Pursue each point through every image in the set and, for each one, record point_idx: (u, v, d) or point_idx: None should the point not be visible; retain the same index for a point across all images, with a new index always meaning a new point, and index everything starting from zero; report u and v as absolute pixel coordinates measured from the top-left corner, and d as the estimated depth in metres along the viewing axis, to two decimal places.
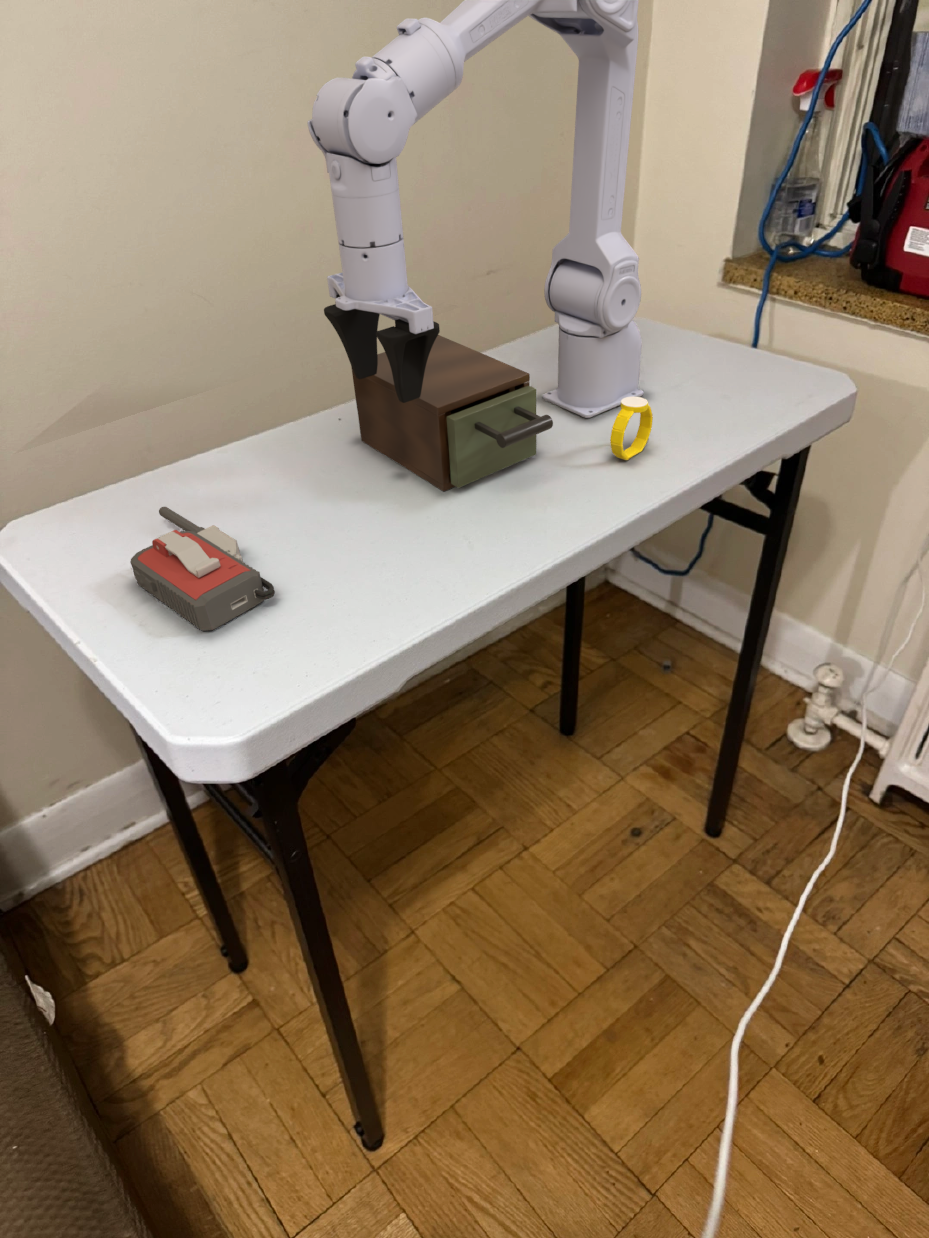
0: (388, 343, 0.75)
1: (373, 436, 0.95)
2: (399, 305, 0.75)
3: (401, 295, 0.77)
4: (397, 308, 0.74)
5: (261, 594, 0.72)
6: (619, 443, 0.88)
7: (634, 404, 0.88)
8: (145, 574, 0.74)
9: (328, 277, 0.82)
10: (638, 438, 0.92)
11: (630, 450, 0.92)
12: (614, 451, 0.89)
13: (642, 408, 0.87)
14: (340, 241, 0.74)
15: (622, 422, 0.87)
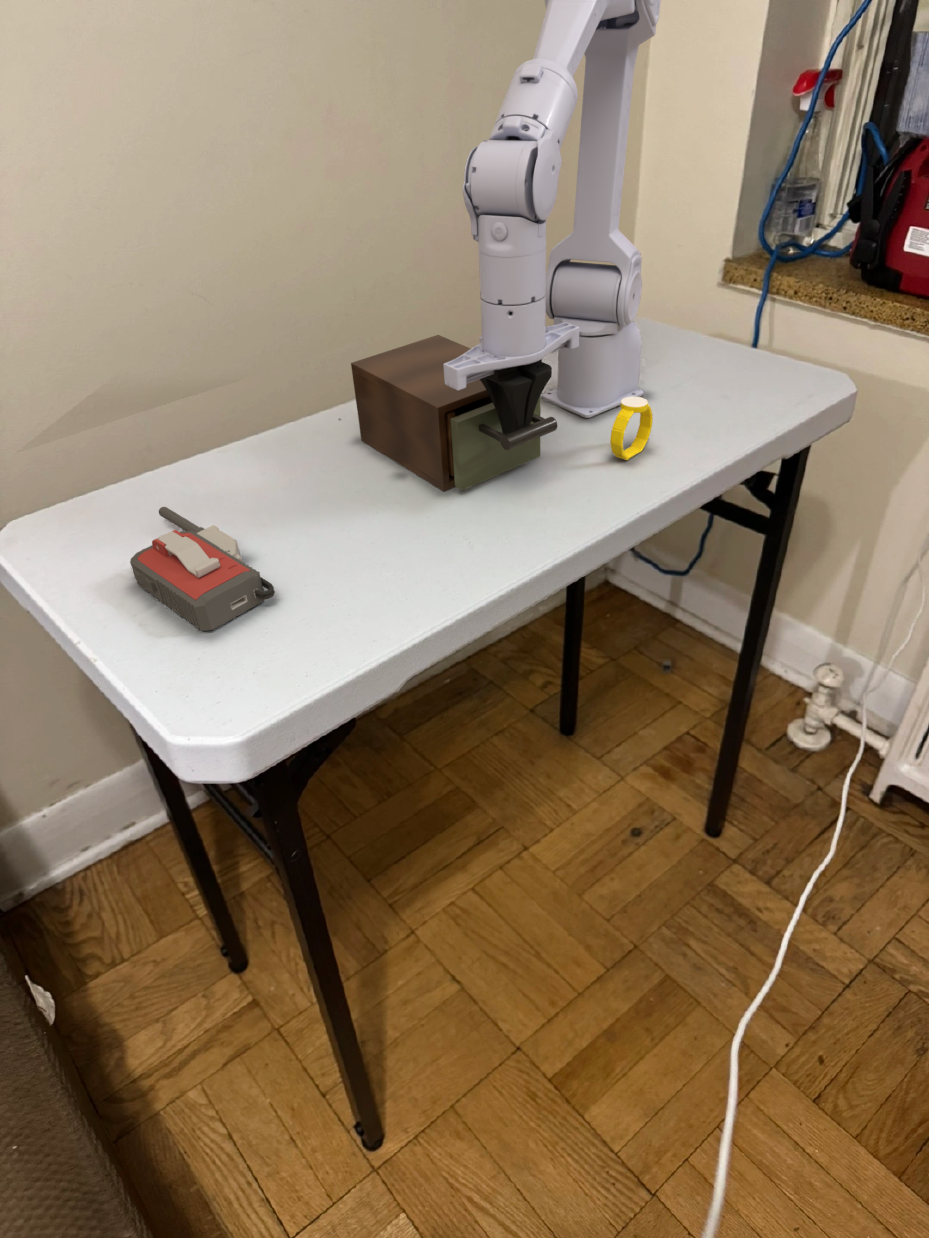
0: None
1: (373, 436, 0.95)
2: (468, 357, 0.76)
3: (495, 355, 0.76)
4: (459, 357, 0.77)
5: (261, 594, 0.72)
6: (619, 443, 0.88)
7: (634, 404, 0.88)
8: (145, 574, 0.74)
9: (563, 323, 0.82)
10: (638, 438, 0.92)
11: (630, 450, 0.92)
12: (614, 451, 0.89)
13: (642, 408, 0.87)
14: (495, 301, 0.73)
15: (622, 422, 0.87)
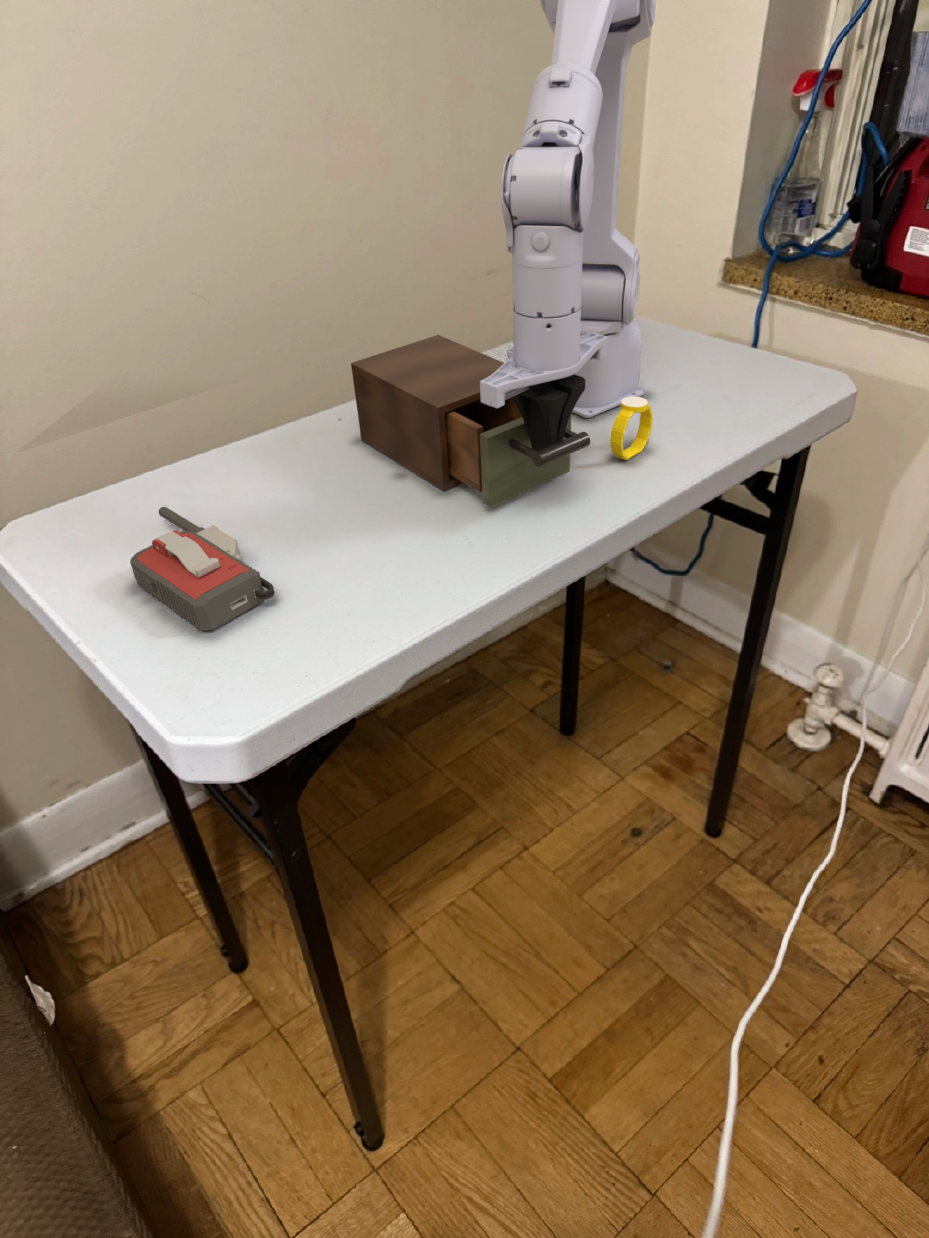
0: None
1: (373, 436, 0.95)
2: (503, 373, 0.73)
3: (531, 370, 0.73)
4: (493, 373, 0.73)
5: (261, 594, 0.72)
6: (619, 443, 0.88)
7: (634, 404, 0.88)
8: (145, 574, 0.74)
9: (589, 333, 0.80)
10: (638, 438, 0.92)
11: (630, 450, 0.92)
12: (614, 451, 0.89)
13: (642, 408, 0.87)
14: (534, 314, 0.70)
15: (622, 422, 0.87)
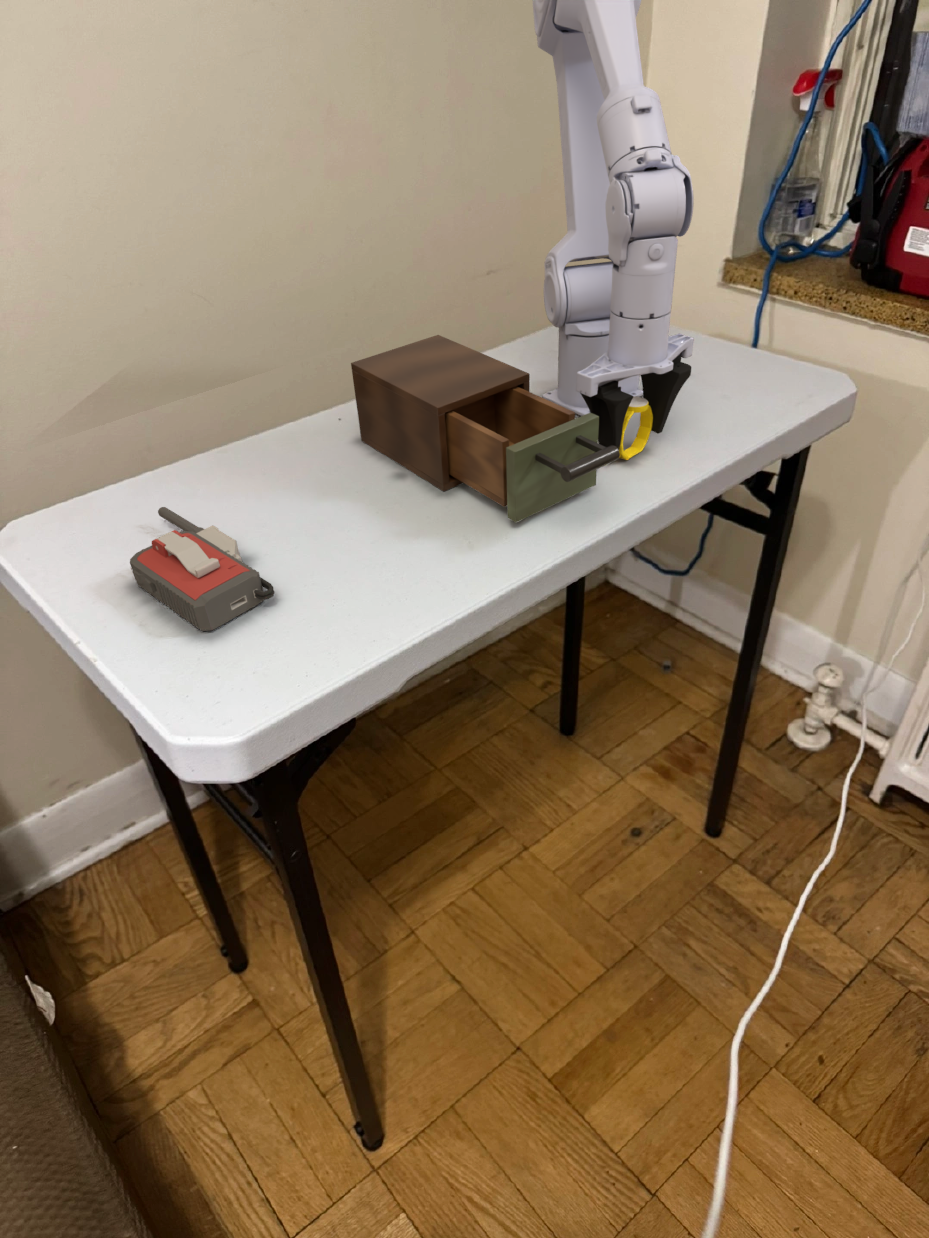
0: (688, 374, 0.87)
1: (373, 436, 0.95)
2: None
3: None
4: (683, 344, 0.87)
5: (261, 594, 0.72)
6: None
7: (634, 404, 0.88)
8: (144, 574, 0.74)
9: (592, 377, 0.81)
10: (638, 438, 0.92)
11: (630, 450, 0.92)
12: None
13: (642, 408, 0.87)
14: (647, 316, 0.80)
15: None
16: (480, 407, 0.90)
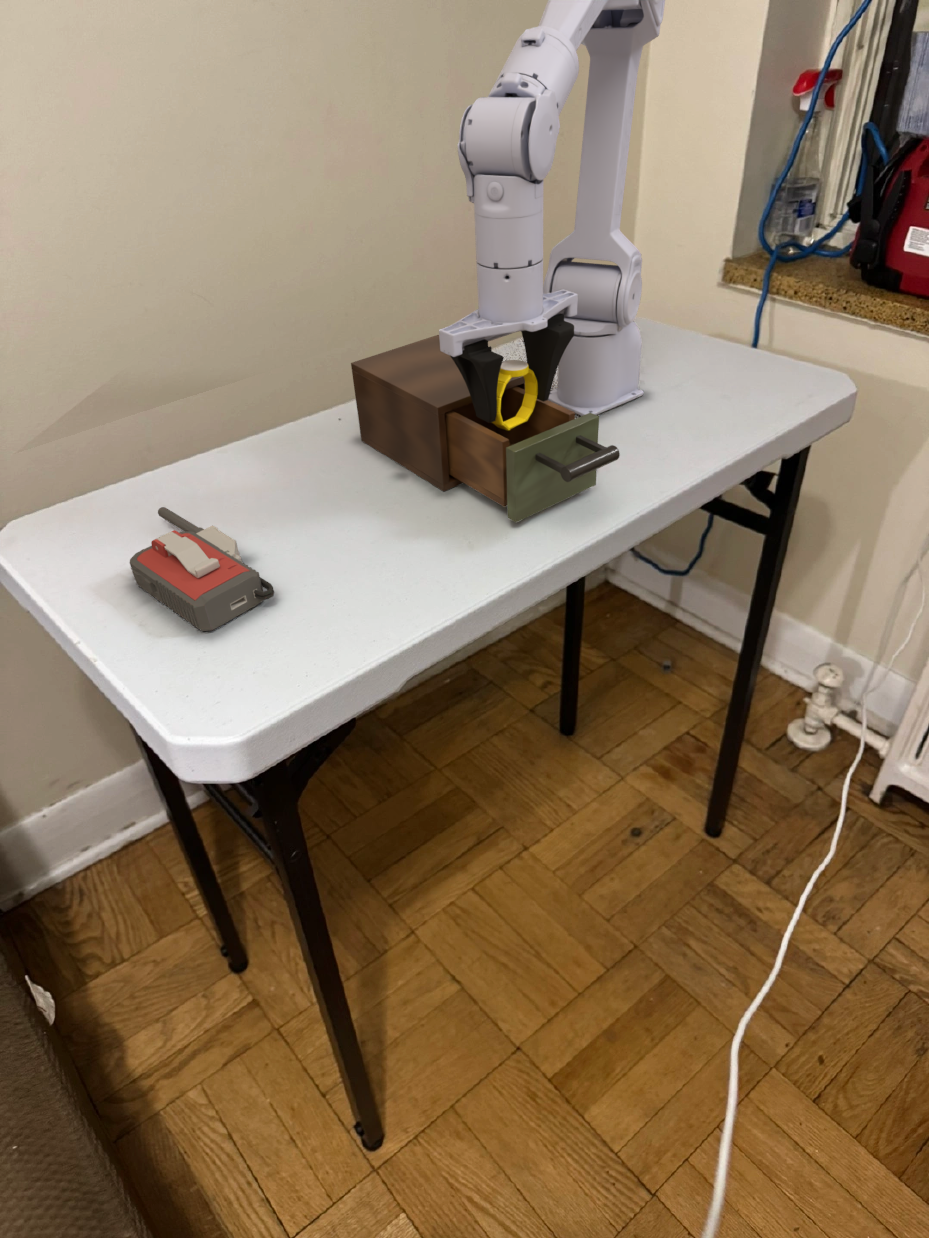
0: (571, 334, 0.79)
1: (373, 436, 0.95)
2: (555, 301, 0.78)
3: None
4: (564, 300, 0.78)
5: (260, 594, 0.72)
6: None
7: (512, 367, 0.79)
8: (144, 574, 0.74)
9: (454, 335, 0.73)
10: (523, 407, 0.84)
11: (514, 420, 0.83)
12: None
13: (520, 372, 0.79)
14: (491, 264, 0.72)
15: (499, 387, 0.79)
16: None
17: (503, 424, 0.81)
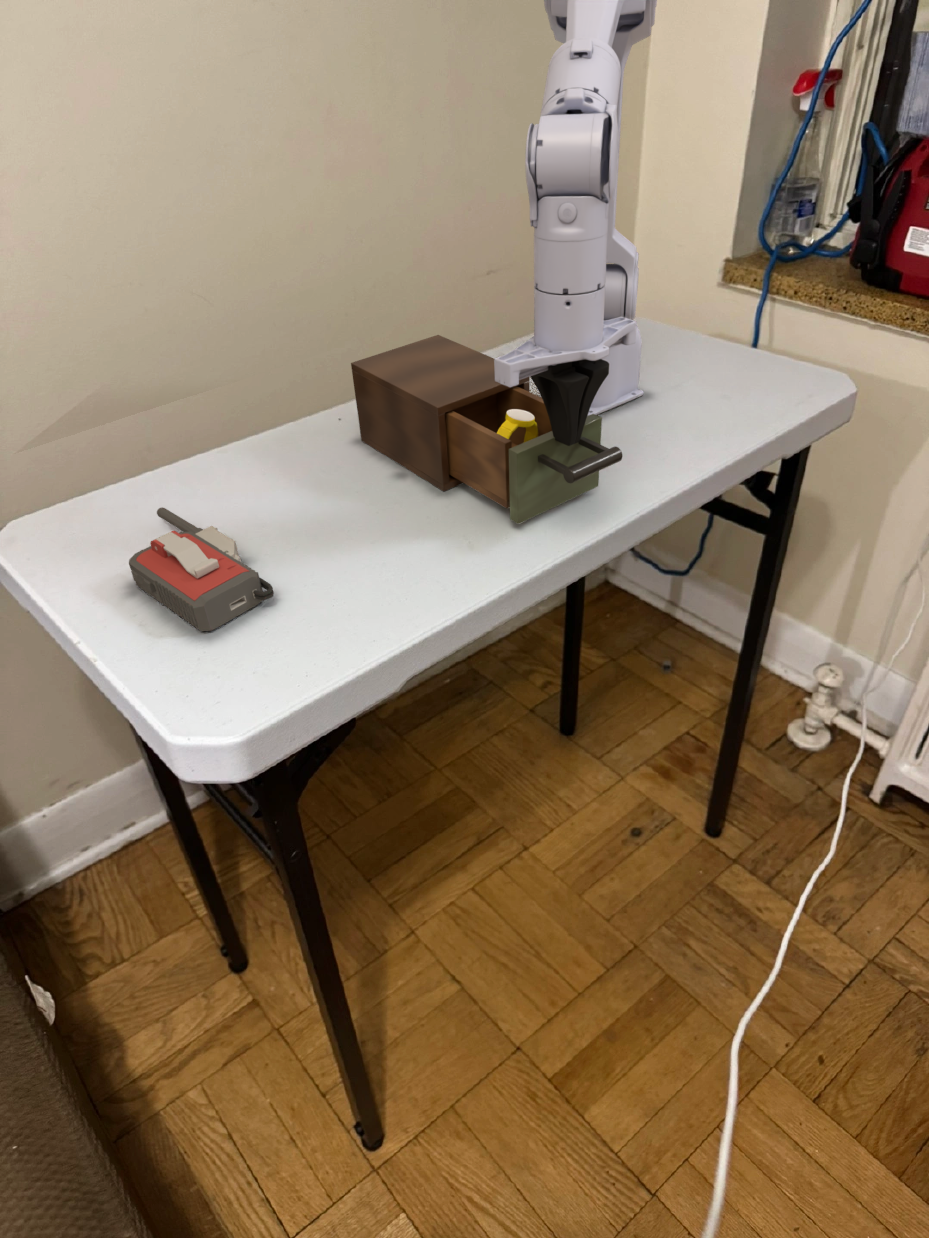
0: (605, 373, 0.73)
1: (373, 436, 0.95)
2: None
3: None
4: (623, 328, 0.74)
5: (260, 594, 0.72)
6: None
7: (520, 417, 0.81)
8: (143, 575, 0.74)
9: (511, 364, 0.68)
10: None
11: None
12: None
13: (527, 423, 0.81)
14: (559, 291, 0.67)
15: (504, 434, 0.81)
16: (482, 408, 0.89)
17: None
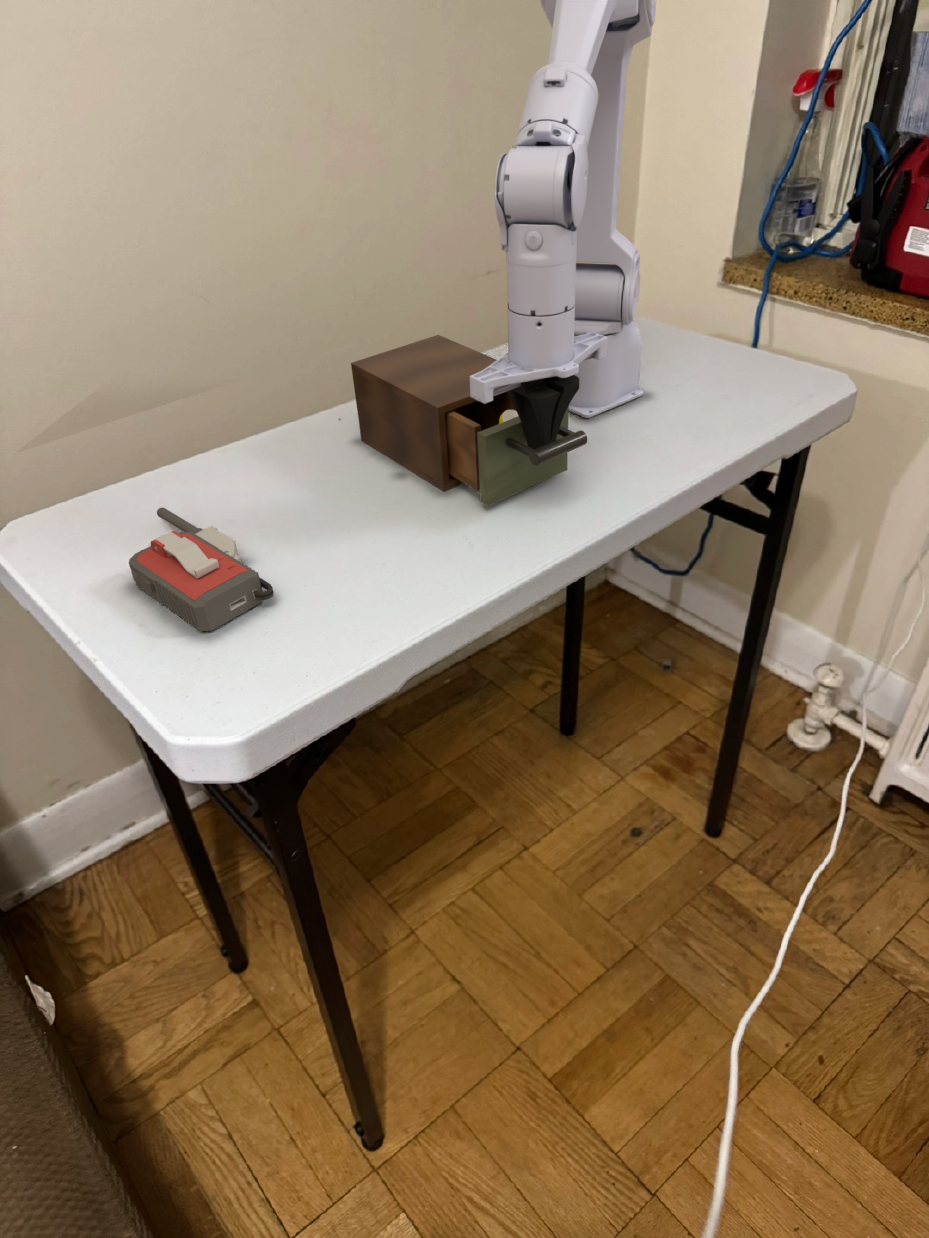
0: (576, 388, 0.77)
1: (373, 436, 0.95)
2: None
3: None
4: (594, 344, 0.77)
5: (260, 594, 0.72)
6: None
7: None
8: (143, 575, 0.74)
9: (486, 382, 0.72)
10: None
11: None
12: None
13: None
14: (527, 312, 0.71)
15: None
16: None
17: None
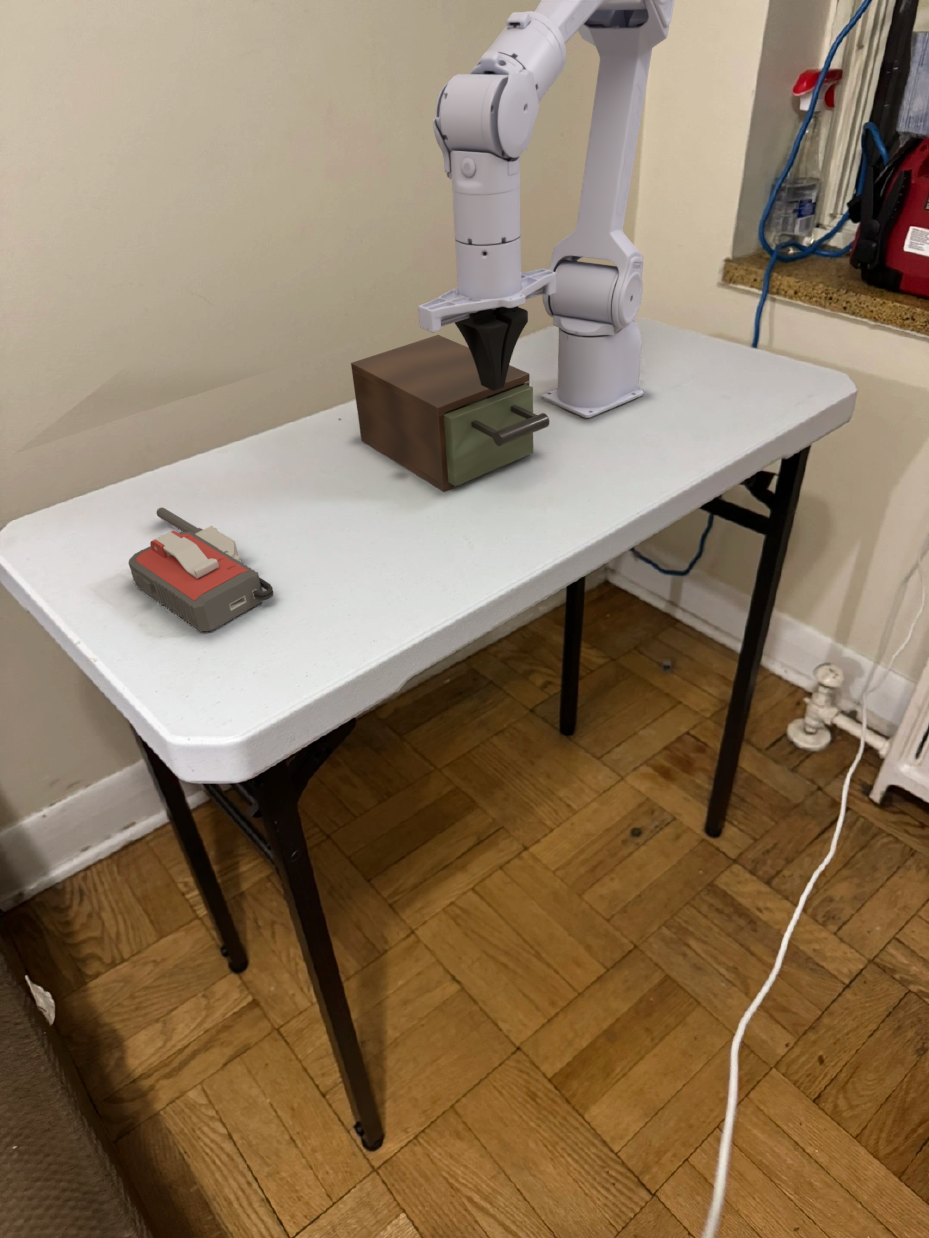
0: (524, 320, 0.78)
1: (373, 436, 0.95)
2: (533, 279, 0.79)
3: None
4: (542, 278, 0.79)
5: (260, 595, 0.72)
6: None
7: None
8: (143, 575, 0.74)
9: (433, 310, 0.74)
10: None
11: None
12: None
13: None
14: (465, 240, 0.73)
15: None
16: None
17: None
